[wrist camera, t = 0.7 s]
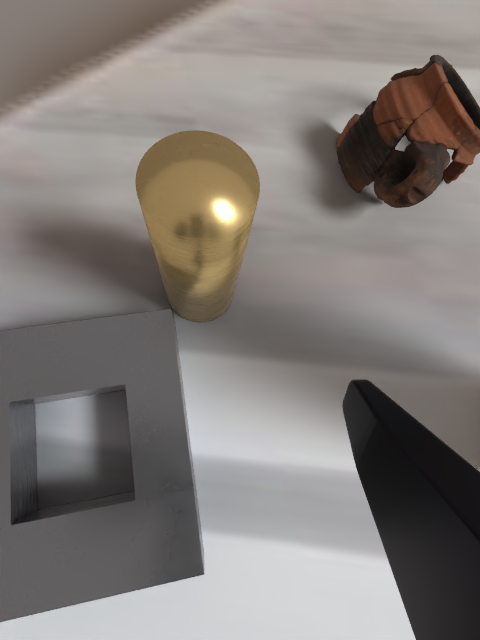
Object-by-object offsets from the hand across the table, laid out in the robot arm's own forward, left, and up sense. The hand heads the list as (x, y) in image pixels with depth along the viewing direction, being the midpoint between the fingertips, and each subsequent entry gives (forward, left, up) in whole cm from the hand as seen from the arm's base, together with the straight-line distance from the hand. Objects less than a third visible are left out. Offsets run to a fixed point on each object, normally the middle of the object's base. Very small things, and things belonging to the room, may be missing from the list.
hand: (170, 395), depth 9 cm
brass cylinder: (+8, -2, -15) cm, 17 cm away
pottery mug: (+16, -18, -15) cm, 29 cm away
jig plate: (-1, +6, -15) cm, 16 cm away
